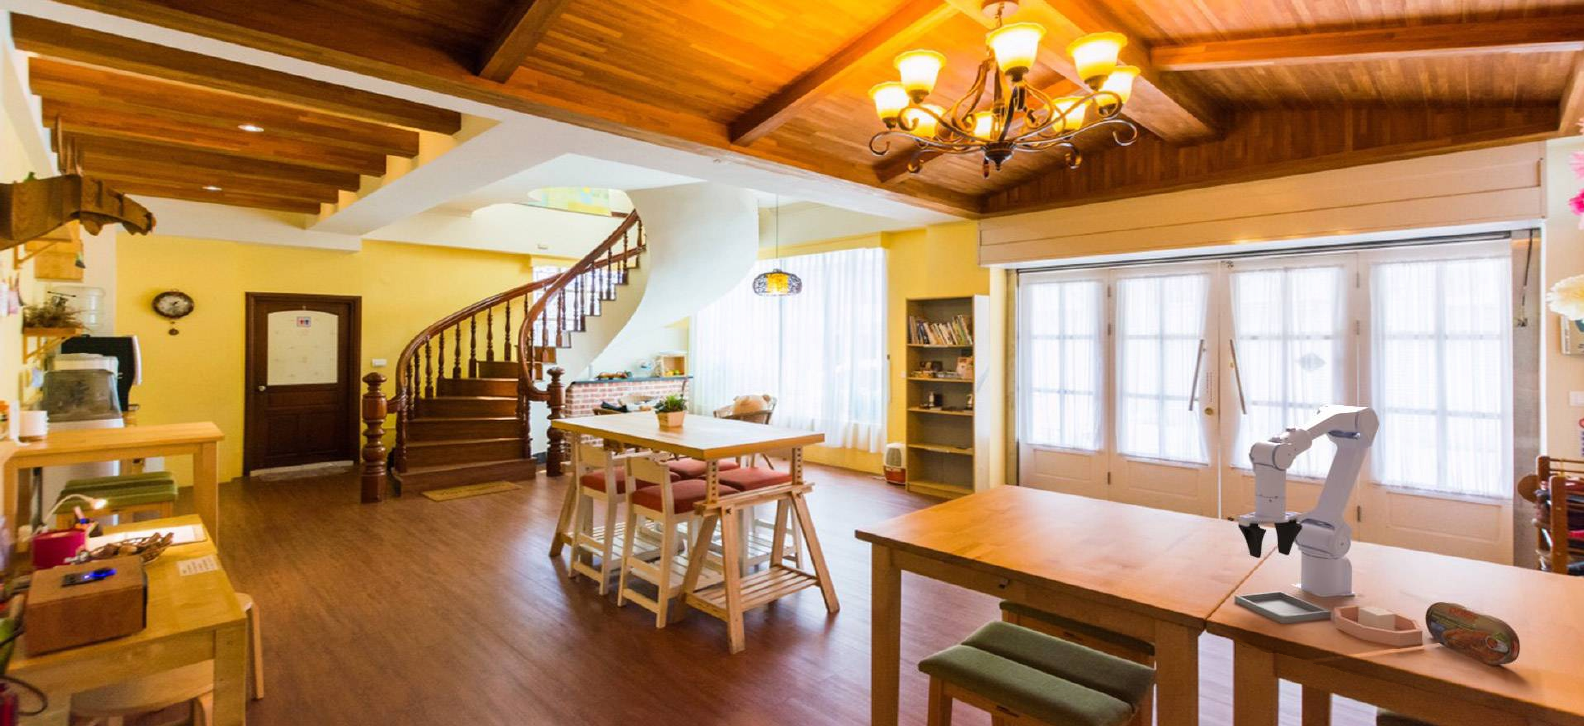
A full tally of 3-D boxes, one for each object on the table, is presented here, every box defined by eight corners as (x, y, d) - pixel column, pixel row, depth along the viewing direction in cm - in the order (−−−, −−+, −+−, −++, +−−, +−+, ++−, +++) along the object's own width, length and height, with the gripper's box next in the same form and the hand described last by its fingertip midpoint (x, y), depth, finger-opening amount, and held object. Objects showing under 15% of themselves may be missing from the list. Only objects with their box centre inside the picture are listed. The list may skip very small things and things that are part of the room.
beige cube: (1374, 625, 143) (1374, 606, 142) (1394, 633, 139) (1395, 613, 138) (1357, 627, 142) (1358, 607, 142) (1377, 635, 138) (1378, 615, 138)
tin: (1423, 637, 138) (1424, 595, 138) (1438, 636, 139) (1439, 594, 138) (1507, 674, 123) (1508, 627, 123) (1523, 673, 124) (1524, 626, 123)
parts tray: (1280, 599, 158) (1280, 590, 158) (1330, 620, 147) (1330, 611, 146) (1234, 604, 156) (1234, 595, 156) (1282, 626, 144) (1282, 616, 144)
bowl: (1370, 617, 148) (1370, 603, 148) (1437, 644, 135) (1438, 628, 135) (1318, 623, 145) (1319, 609, 145) (1382, 651, 133) (1383, 635, 132)
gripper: (1257, 501, 151) (1257, 563, 152) (1314, 497, 154) (1313, 558, 155) (1231, 494, 158) (1230, 553, 159) (1285, 490, 161) (1284, 548, 162)
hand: (1269, 555), depth 157 cm, fingers open, 7 cm apart
